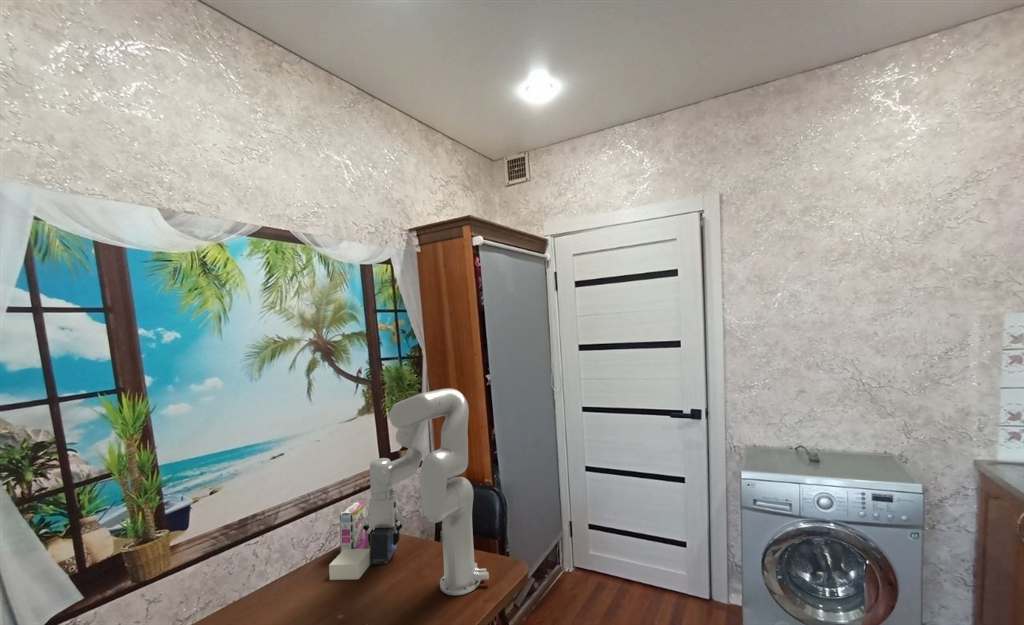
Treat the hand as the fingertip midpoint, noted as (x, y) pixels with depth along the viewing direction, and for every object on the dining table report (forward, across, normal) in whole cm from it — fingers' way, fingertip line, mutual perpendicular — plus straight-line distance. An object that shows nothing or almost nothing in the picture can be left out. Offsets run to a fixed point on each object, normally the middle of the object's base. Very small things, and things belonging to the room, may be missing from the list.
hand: (384, 543), depth 143 cm
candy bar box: (+5, +13, -3) cm, 14 cm away
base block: (+5, +8, +8) cm, 13 cm away
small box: (+5, 0, 0) cm, 5 cm away
